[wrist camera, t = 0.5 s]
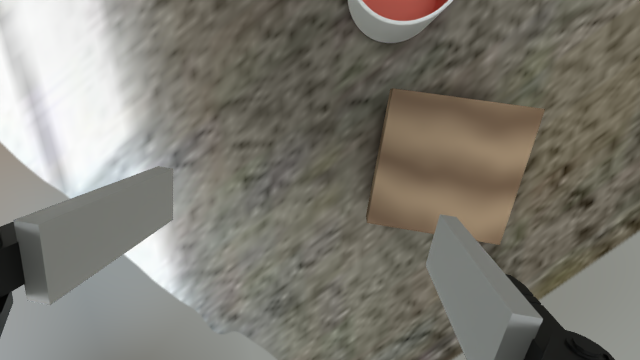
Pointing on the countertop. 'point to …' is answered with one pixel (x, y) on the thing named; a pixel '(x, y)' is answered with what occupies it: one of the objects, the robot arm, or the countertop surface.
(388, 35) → the cup
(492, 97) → the countertop surface
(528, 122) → the stool
